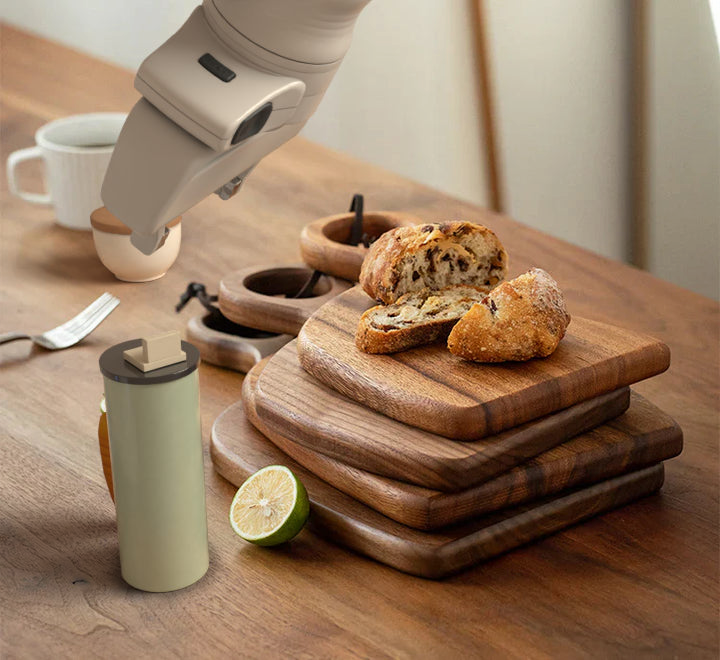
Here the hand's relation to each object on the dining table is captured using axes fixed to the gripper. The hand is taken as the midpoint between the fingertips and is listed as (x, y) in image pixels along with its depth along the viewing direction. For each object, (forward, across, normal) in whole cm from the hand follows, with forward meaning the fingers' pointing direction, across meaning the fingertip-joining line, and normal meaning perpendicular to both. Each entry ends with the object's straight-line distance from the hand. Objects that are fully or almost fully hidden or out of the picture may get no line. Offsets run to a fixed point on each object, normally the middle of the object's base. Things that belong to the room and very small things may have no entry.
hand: (185, 217), depth 74 cm
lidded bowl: (+60, -54, -22) cm, 84 cm away
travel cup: (+29, +3, +12) cm, 32 cm away
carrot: (+33, -1, +8) cm, 34 cm away
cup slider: (+13, 0, +3) cm, 13 cm away
